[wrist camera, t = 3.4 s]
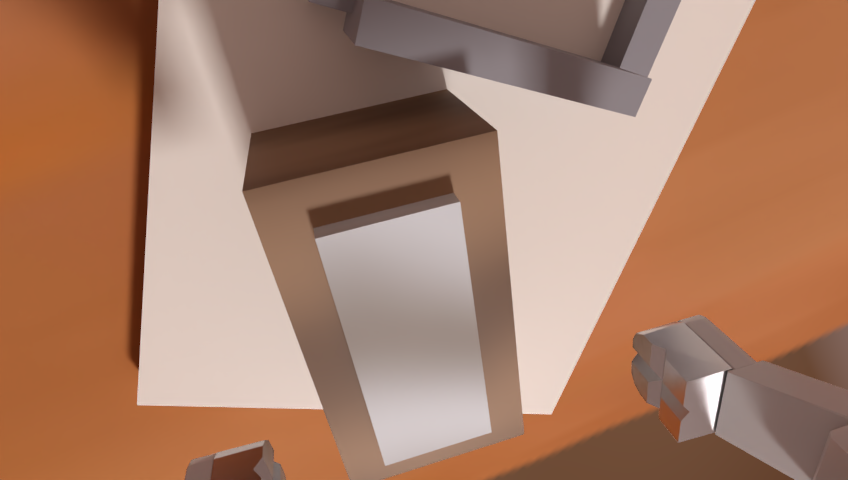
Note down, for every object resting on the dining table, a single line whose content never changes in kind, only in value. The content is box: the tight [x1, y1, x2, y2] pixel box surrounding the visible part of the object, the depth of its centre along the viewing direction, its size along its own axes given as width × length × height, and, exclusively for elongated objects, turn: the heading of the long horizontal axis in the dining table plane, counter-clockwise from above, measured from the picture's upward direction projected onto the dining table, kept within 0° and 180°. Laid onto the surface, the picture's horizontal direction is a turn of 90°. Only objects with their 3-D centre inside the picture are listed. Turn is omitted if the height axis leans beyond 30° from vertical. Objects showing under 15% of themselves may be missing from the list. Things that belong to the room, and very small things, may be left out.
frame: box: [242, 89, 524, 480], centre depth 15 cm, size 10×6×4 cm, turn 9°
